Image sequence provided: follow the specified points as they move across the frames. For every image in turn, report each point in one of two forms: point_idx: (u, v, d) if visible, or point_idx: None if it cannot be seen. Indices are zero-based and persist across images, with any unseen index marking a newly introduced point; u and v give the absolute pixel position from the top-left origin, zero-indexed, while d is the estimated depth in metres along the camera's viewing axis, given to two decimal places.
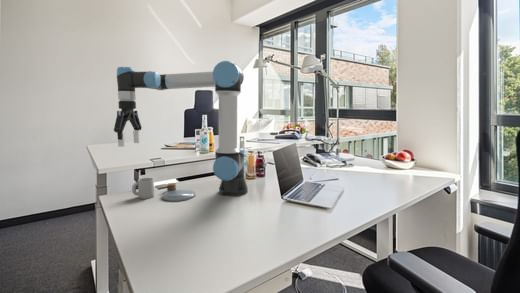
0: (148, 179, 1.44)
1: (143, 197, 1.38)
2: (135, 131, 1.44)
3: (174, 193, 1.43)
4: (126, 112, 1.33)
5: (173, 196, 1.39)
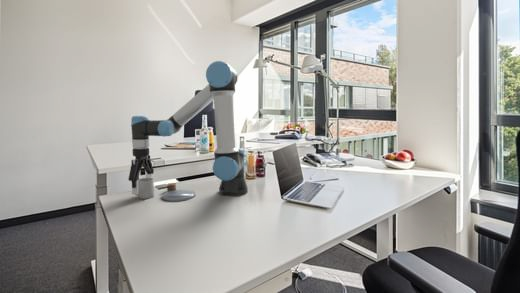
0: (148, 179, 1.44)
1: (143, 197, 1.38)
2: (148, 175, 1.46)
3: (174, 193, 1.43)
4: (140, 160, 1.36)
5: (173, 196, 1.39)
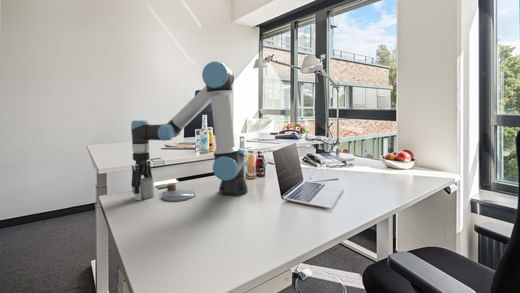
0: (148, 179, 1.44)
1: (143, 197, 1.38)
2: None
3: (174, 193, 1.43)
4: (140, 164, 1.36)
5: (173, 196, 1.39)
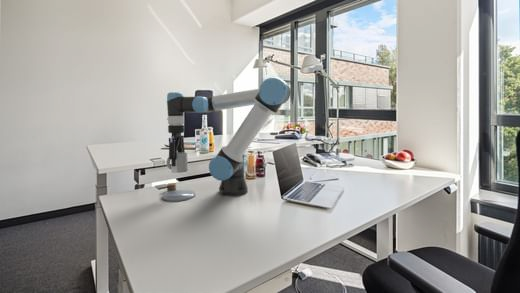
0: (181, 154, 1.43)
1: (178, 170, 1.37)
2: None
3: (174, 193, 1.43)
4: (176, 136, 1.36)
5: (173, 196, 1.39)
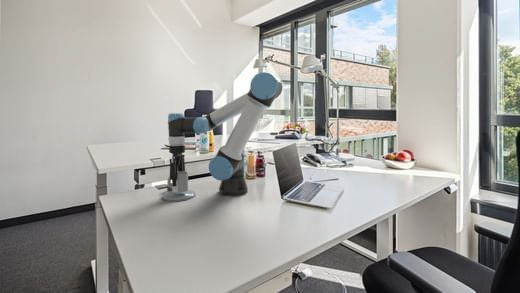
0: (182, 173, 1.44)
1: (178, 190, 1.39)
2: None
3: (174, 193, 1.43)
4: (177, 157, 1.37)
5: (173, 196, 1.39)
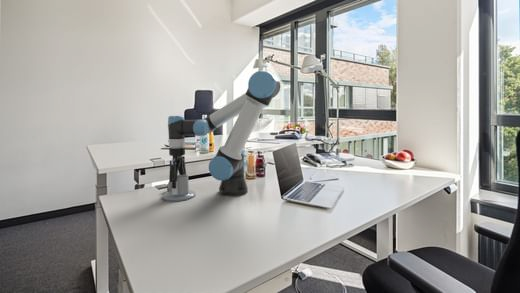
0: (182, 176, 1.45)
1: (179, 194, 1.39)
2: None
3: None
4: (177, 159, 1.37)
5: (173, 196, 1.39)
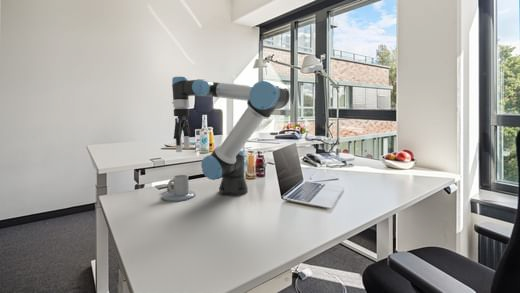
0: (183, 176, 1.45)
1: (179, 194, 1.39)
2: (185, 137, 1.51)
3: None
4: (182, 119, 1.40)
5: (173, 196, 1.39)
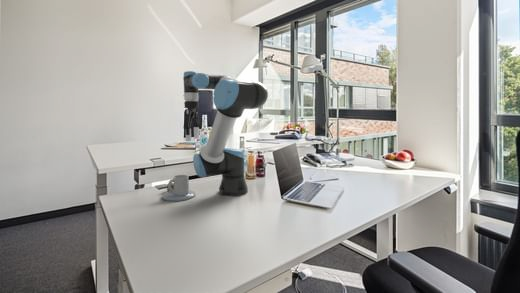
0: (183, 176, 1.45)
1: (179, 194, 1.39)
2: (195, 128, 1.62)
3: None
4: (192, 111, 1.52)
5: (173, 196, 1.39)
